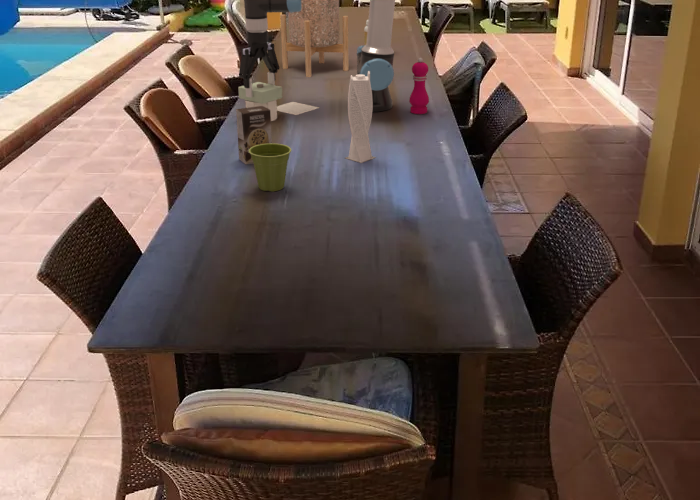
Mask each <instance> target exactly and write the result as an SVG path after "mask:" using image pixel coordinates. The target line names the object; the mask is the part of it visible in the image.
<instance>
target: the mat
mask: <svg viewBox="0 0 700 500" xmlns="http://www.w3.org/2000/svg"><path fill="white" fill-rule="evenodd" d="M318 109H320V107H318V106H314V105H310V104H307V103H306V104H304V103H299V102H296V101H291V102H287V103H283V104H280V105H277V112H281V113H285V114H289V115H294V116H298V115H302V114H304V113H308V112H310V111H314V110H318Z"/></svg>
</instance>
